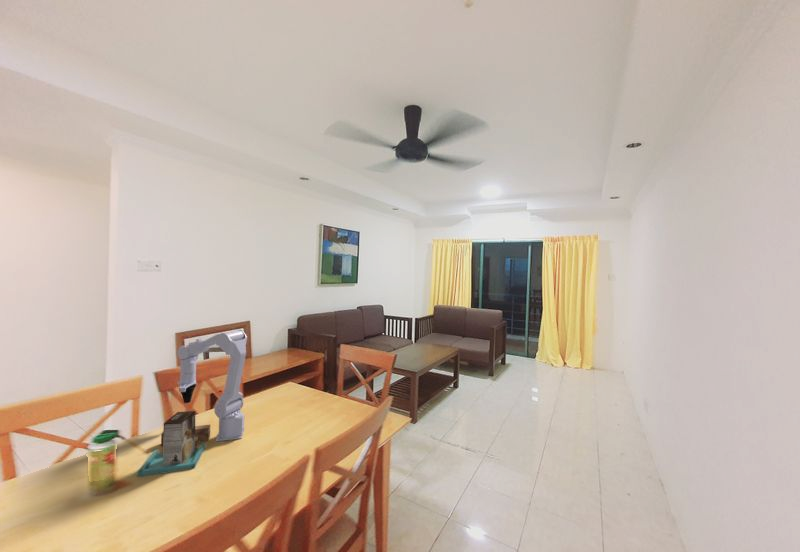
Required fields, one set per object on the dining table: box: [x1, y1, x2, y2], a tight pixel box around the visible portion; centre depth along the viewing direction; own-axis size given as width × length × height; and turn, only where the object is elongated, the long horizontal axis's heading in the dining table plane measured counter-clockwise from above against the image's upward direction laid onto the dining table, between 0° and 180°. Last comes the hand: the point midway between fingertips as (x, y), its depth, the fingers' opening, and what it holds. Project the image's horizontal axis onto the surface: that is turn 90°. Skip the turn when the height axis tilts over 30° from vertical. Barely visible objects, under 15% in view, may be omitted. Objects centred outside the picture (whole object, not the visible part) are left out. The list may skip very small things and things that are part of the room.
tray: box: [137, 443, 206, 477], centre depth 111 cm, size 16×13×2 cm
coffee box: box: [162, 410, 197, 466], centre depth 111 cm, size 9×6×16 cm
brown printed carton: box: [160, 424, 211, 449], centre depth 120 cm, size 16×10×5 cm, turn 109°
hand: (187, 402), depth 136 cm, fingers closed
